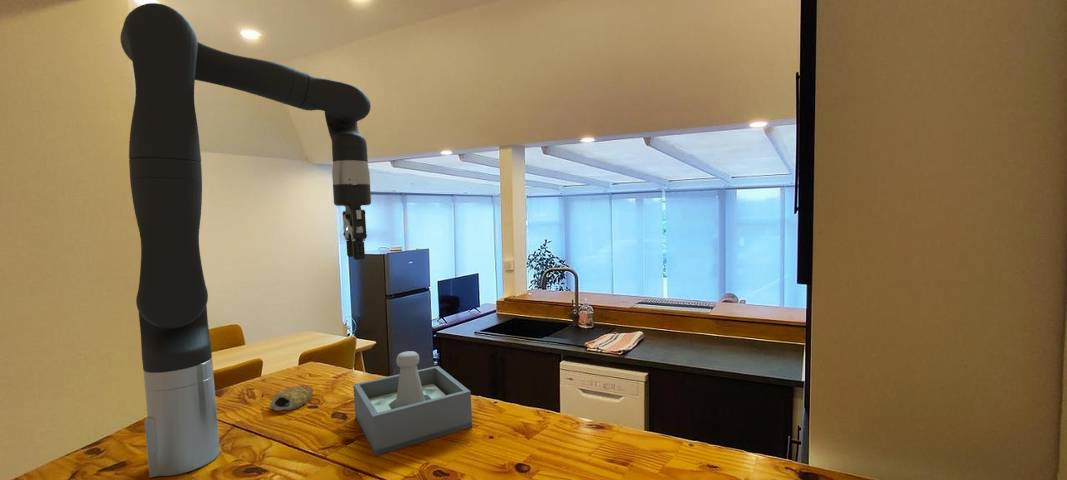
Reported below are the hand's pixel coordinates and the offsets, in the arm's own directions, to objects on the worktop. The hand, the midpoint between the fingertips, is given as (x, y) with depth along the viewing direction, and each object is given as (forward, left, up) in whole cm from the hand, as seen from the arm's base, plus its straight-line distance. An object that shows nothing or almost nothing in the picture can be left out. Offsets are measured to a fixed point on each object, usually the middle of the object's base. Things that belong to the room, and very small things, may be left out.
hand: (355, 258), depth 99 cm
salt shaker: (+6, -17, -31) cm, 36 cm away
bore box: (+6, -17, -32) cm, 36 cm away
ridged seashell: (-14, +9, -33) cm, 36 cm away
